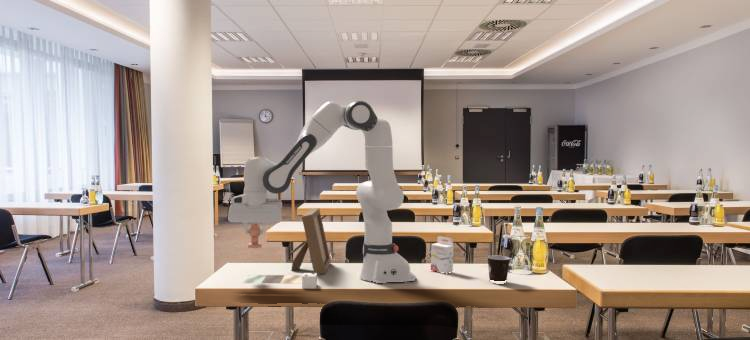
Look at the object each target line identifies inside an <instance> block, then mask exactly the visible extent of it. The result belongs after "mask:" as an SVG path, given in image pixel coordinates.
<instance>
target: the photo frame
mask: <svg viewBox="0 0 750 340" xmlns="http://www.w3.org/2000/svg"><path fill="white" fill-rule="evenodd" d="M301 219H302V225H303V229H304V233H305V234H304V235H305V239H306V240H305V242H304V243H303V245H302V246H301V248H300V250H298V252H297V254H296V255H295V257H294V258H293V260H292V262H291V263H292V264H291V272H294V271H297V270H300V269H301V266H302V264H303V261H304V258H305V257H306V254H307V251H309V255H310V256H309V257H310V260H311V265H312V270H313V273H317V275H324V274H326V272H327V271H328V268H329V267H330V264H331V263H332V261H331V257H330V251H329V247H328V246H329V245H328V242H327V239H326V232H325V228H324V224H323V223H324V222H323V219H322V215H321V210H320V208H314V209H310V210H308V211H307V212H306V213H304V214H303V215H302V216H301Z"/></svg>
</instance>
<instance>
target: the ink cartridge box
mask: <svg viewBox="0 0 750 340" xmlns="http://www.w3.org/2000/svg"><path fill="white" fill-rule="evenodd" d="M436 240H437V242H436V243H431V246H430V247H431V249H430V250H431V251H430V253H431V254H430V271H431V270H433V271H432V272H434V271H438V272H444V273H449V272H452V271H453V272H454V239H453V238H452V237H451V238H450V237H446V236H440V235H438V236H437V239H436ZM445 240H446V241H445ZM438 272H437V273H438ZM453 272H452V273H453ZM449 274H450V273H449Z"/></svg>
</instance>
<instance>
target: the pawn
mask: <svg viewBox="0 0 750 340" xmlns="http://www.w3.org/2000/svg"><path fill="white" fill-rule="evenodd" d="M249 229H250V234H249V236H250V237H251V241H250V242H249V243H247V248H249V249H260V248H262V243H261V242H259V236H261V234H260V229H261V227H260V225H259V224H258V223H253V224H252V223H251V226H250V227H249Z"/></svg>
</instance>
